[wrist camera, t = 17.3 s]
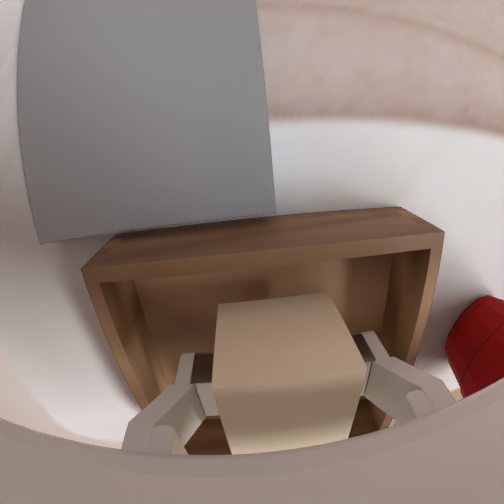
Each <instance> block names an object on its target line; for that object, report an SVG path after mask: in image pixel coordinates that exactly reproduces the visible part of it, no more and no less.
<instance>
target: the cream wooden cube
mask: <svg viewBox="0 0 504 504" xmlns="http://www.w3.org/2000/svg"><path fill="white" fill-rule="evenodd" d="M366 370H367V366H366V364H365V362H364V360H363V358H362V356H361V354H360V352H359V350H358V348H357V346H356V344H355V342H354V340H353V338H352V336H351V334H350V332H349V330H348V328H347V326H346V324H345V322H344V321H343V319H342V317H341V315H340V313H339V311H338V309H337V307H336V305H335V303H334V302H333V300H332V298H331V296H330V294H329V292H323V293H315V294H307V295H299V296H291V297H282V298H273V299H264V300H254V301H244V302H234V303H223V304H218V312H217V323H216V335H215V347H214V359H213V372H212V386H211V389H212V392H213V396H214V399H215V402H216V406H217V409H218V412H219V416H220V419H221V422H222V425H223V428H224V431H225V434H226V438H227V441H228V444H229V447H230V450H231V452H232V455H233V454H250V453H262V452H272V451H281V450H289V449H296V448H302V447H309V446H314V445H320V444H325V443H330V442H335V441H340V440H344V439H348V436H349V433H350V430H351V427H352V423H353V420H354V417H355V413H356V410H357V406H358V402H359V399H360V395H361V391H362V387H363V383H364V379H365V375H366Z"/></svg>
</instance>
